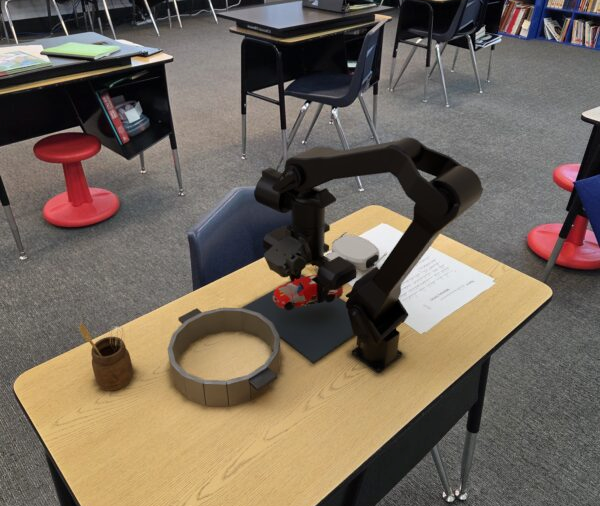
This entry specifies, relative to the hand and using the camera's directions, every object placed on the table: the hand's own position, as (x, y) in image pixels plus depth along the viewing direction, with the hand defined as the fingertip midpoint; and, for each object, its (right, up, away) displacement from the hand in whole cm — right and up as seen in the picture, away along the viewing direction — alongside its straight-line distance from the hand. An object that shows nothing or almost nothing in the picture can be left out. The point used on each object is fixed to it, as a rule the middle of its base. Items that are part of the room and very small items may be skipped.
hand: (307, 293), depth 101 cm
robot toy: (+8, +4, +16) cm, 18 cm away
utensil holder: (-32, -13, -11) cm, 36 cm away
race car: (0, -1, +1) cm, 1 cm away
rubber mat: (0, -4, +3) cm, 5 cm away
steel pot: (-14, -11, -8) cm, 20 cm away
